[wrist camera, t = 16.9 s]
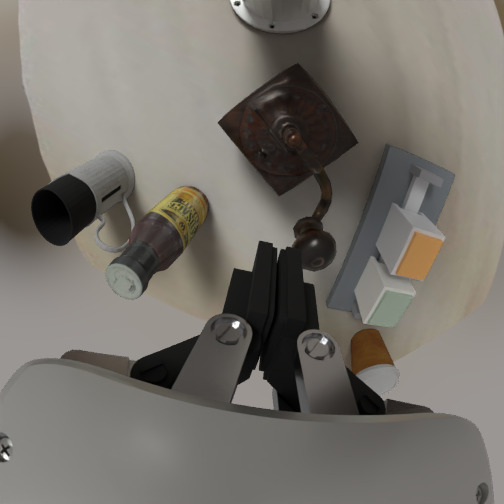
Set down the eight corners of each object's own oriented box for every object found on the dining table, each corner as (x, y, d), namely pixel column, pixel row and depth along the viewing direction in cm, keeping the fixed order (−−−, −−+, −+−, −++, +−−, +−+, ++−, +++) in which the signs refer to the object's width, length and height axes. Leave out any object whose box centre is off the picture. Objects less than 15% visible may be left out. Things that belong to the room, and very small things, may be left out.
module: (392, 202, 35) (415, 229, 28) (422, 212, 35) (447, 239, 28) (375, 244, 38) (392, 277, 31) (404, 252, 38) (424, 284, 31)
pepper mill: (225, 119, 33) (176, 140, 18) (293, 69, 28) (304, 40, 13) (297, 206, 38) (307, 288, 23) (362, 163, 34) (420, 219, 19)
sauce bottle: (217, 212, 40) (172, 306, 23) (183, 228, 42) (126, 319, 25) (196, 174, 37) (128, 246, 20) (161, 192, 39) (86, 268, 22)
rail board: (386, 143, 32) (416, 160, 24) (450, 171, 32) (486, 195, 24) (326, 301, 47) (332, 343, 39) (383, 311, 47) (396, 350, 39)
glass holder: (101, 140, 35) (33, 170, 22) (172, 186, 38) (123, 234, 26) (85, 185, 39) (25, 226, 27) (150, 229, 42) (104, 286, 30)
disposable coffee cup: (335, 337, 52) (341, 388, 41) (376, 315, 48) (391, 365, 37) (355, 358, 55) (363, 404, 45) (393, 338, 51) (407, 385, 41)
